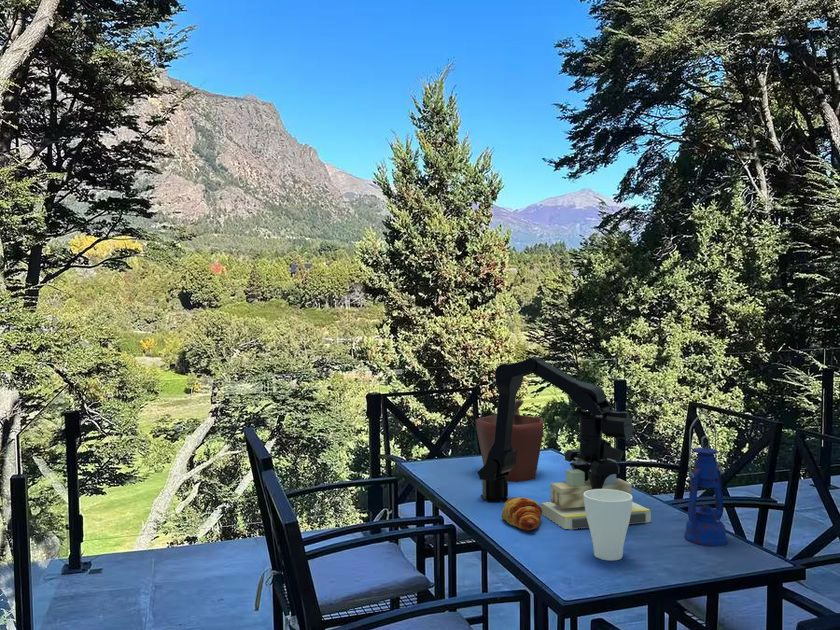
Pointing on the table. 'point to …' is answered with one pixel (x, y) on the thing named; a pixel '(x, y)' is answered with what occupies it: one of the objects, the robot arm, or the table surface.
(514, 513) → the croissant
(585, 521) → the dock
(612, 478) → the blue-grey cube
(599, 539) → the cup
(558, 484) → the wooden block
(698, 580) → the table surface
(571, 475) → the grey-green cube
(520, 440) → the bucket
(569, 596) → the table surface
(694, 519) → the lantern
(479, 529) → the table surface
